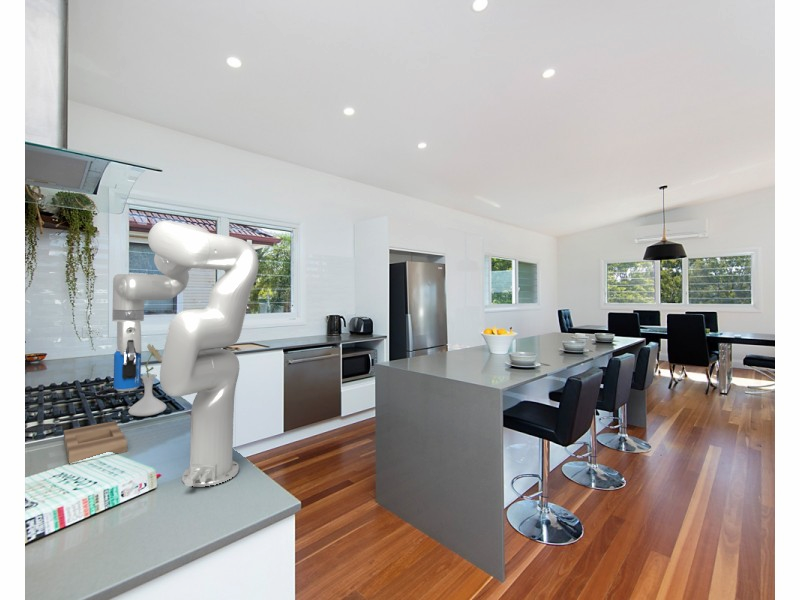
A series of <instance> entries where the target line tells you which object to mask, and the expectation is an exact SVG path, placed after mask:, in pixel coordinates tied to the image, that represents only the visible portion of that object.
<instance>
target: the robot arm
mask: <svg viewBox="0 0 800 600" xmlns="http://www.w3.org/2000/svg"><path fill="white" fill-rule="evenodd" d="M147 242H148V246H149V248H150V250H151V251H152V252H153V253H154V257H153V263H154V265H155V267H156V269H157V270H158V271H159V272H160V273H161V274H149V273H127V274H126V273H118V274H115V275H114V276H113V280H112V315H111V316H112V317H111V319H112V322H116V346H117V347H116V349H118V350H119V351H120V354H121V355H123V359H124V365H122V378H123V379H128V378H135V377H136V354H135V352H136V353H139V354H141V355H142V325H141V322H143V321H144V320H145V319H144V318H145V301H168V300H171V299H173V298H175V297H177V296H178V295H179V294H181V293H183V292H184V290H186V288H187V287H188V283H189V280H190V279H189V278H190V274H189V271H190V270H191V269H204V270H213V271H214V270H216V271H218V270H219V271H224V274H222V276H220V277H219V278H218V279H217V281H216V282H215V283H214V285H213V286H212V287H211V290H210V292H209V293H210V294H209V298H208V303H207V306H206V307H205V308H202V309H201V308H199V309H197V308H195V309H186V310H182V311H180V312H179V313H177V314H175V316H174V317H173V318H172V320H170V324H169V325H168V328H167V334H166V338H165V342H164V343H165V344H164V348H163V354H162V358H161V359H162V361H161V362H160V363H161V365H160V371H159V382H160V386H161V388H162V391H163V392H164V393H165V394H167V395H168V396H171V397H183V396H188V395H192V394H196V395H195V397H194V399H193V401H192V405H191V410H190V411H191V414H190V415H191V416H190V442H189V443H190V444H189V445H190V448H189V454H190V455H189V467H188V468H186V469H185V470H184V471H183V473H182V478H181V479H182V480H181V481H182V482H183V484H184V486H185V487H187V488H190V487H192V486H193V488H206V487H205V486H209V487H211V486H210V485H214V486H217V485H216V484H218V485H220V484H219V483H221V484H223V483H222V482H224V483H225V481H226V482H228V481H230V480H232V479H233V478H234V477H236V475H237V474H238V472H239V468H240V467H239V466H240V465H239V463H238V462H237V461H235V460H233V449H234V448H233V446H234V443H233V441H234V413H235V410H234V409H235V393H236V388H237V384H238V383H237V382H238V378H239V374H240V362H239V359H238V356H237V355H236V354H235V353H234V352H233V351H232V350H229V349H224V348H225V347H230V346H232V345H235V344H236V343H237V342H238V341H239V339H240V336H241V334H242V330H243V326H244V325H243V324H244V321H245V316H246V313H247V309H248V308H247V307H248V302H249V299H250V296H251V292H252V290H253V287H254V285H255V282H256V279H257V276H258V272H259V265H260V264H259V256H258V253H257V251H256V249H255V247H253V245H252V244H251V243H250V242H247V241H246V240H244V239H242V238H238V237H235V236H230V235H225V234H219V233H217V234H216V233H211V232H210V231H209V230H208V229H206V228H204V227H203V226H199V225H194V224H190V223H184V222H179V221H174V220H167V219H166V220H161V221H158V222H156V223H155V224H154V225H153V226H152V227H151V228H150V230H149V232H148V235H147ZM125 350H126V351H125ZM135 350H136V351H135ZM125 353H129V354H125ZM126 357H127V358H126ZM232 477H233V478H232ZM229 479H230V480H229ZM227 480H228V481H227Z"/></svg>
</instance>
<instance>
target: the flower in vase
mask: <svg viewBox="0 0 800 600" xmlns="http://www.w3.org/2000/svg"><path fill="white" fill-rule="evenodd" d="M146 347H147V350H148V351H149V353H150V356H149V357H148V359H147V361H146V364H144V366H145V369H146V371H145V373H146V374H143V375H142V374H141V380H142V382H143V384H144V394H143V395H142V398H141V399H139V400H138V401H137V402H135V403H134V404H133V405H132V406H130V408H129V409H128V414H129V415H130V416H133V417H134V416H135V417H148V416H154V415H157V414H159V413H162V412H164V411H166V409H167V407H168V406H167V404H166V403H165V402H164V401H162V400H160V399H158V398H157V397H155V396H154V394H153V384H154V381H155V379H156V377H157V376H158V375H157V374H155V373H154V374H153V373H152V374H151V373H150V374H149V372H150V371H152V370H154V369H155V368H154V367H153V366H151V367H150V369H149V368H148V365H149V361H150V360H151V358H152V357H153V358H154V359H155V360H157V361H158V362H160V363H162V358H163V355H161V354H160V352H159V350H158V348H157V349H156V347H155V346H154V345H153V344H151V343H148V344H147V346H146Z"/></svg>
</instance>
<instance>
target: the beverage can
mask: <svg viewBox="0 0 800 600" xmlns="http://www.w3.org/2000/svg"><path fill="white" fill-rule="evenodd" d="M125 351H126V350H125ZM135 351H136V350H135ZM125 354H129V353H125ZM135 354H136V377H135V378H128V379H123V378H122V365H124V359H123V355H121V354H120V351H119V350H118V349H117V348H116V349H115V352H114V353H113V389H114V390H116V391H117V392H131V391H134V390H137V389H138V388H139V387H141V382H142V381H141V380H142V378H141V376H142V374H141V373H142V372H141V371H142V353H141V354H139V353H136V352H135ZM126 358H127V357H126Z"/></svg>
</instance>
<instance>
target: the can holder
mask: <svg viewBox="0 0 800 600" xmlns="http://www.w3.org/2000/svg"><path fill="white" fill-rule="evenodd" d="M63 442H64V443H63V444H64V447H65V453H66V457H67V461H69V462H68V464H69V463H72V462H75V461H79V460H83V459H86V458H90V457H93V456H96V455H100V454H103V453H106V452H113V453H119V454H122V453H121V452H123V453H127V452H128V441H127V439H126V437H125V436H124V434H123V432H122V431H121V429H120V427H119V425H118V423H117V422H116V420H114V421H108V422H103V423H98V424H91V425H87V426H80V427H76V428H71V429H64V430H63Z"/></svg>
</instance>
